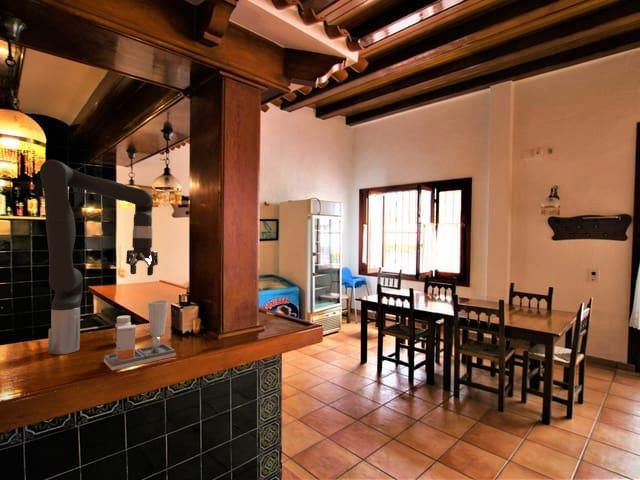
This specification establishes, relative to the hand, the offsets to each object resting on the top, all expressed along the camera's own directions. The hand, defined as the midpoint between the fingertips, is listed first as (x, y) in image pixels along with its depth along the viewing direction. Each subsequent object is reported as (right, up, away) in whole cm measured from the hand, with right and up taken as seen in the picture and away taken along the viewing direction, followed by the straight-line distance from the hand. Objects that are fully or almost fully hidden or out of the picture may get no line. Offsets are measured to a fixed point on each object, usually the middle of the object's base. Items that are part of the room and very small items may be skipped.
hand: (141, 274), depth 148 cm
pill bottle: (-9, -30, +2) cm, 31 cm away
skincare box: (+5, -29, -20) cm, 36 cm away
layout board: (+8, -30, -16) cm, 35 cm away
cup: (0, -30, +15) cm, 33 cm away
